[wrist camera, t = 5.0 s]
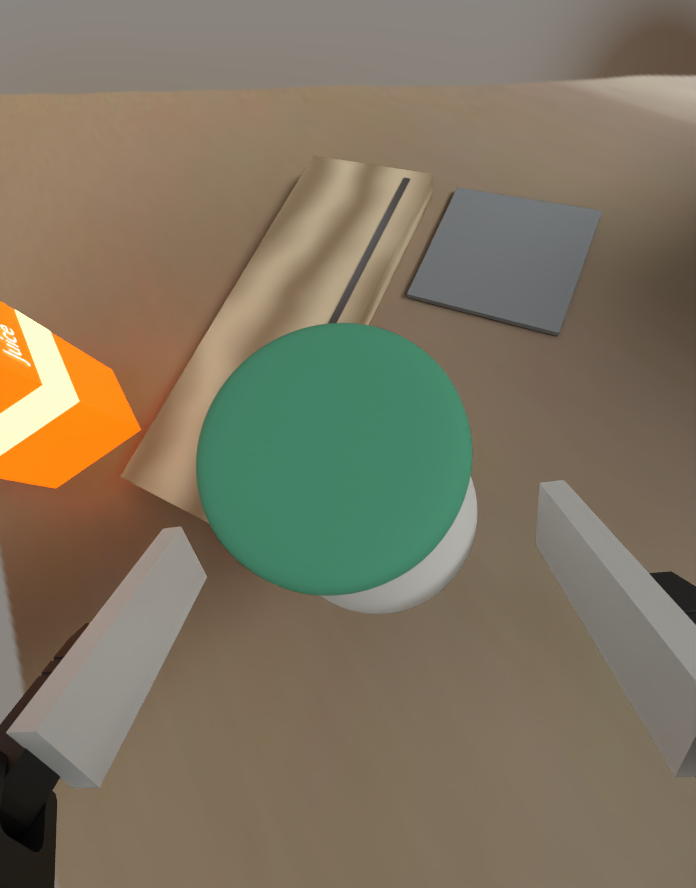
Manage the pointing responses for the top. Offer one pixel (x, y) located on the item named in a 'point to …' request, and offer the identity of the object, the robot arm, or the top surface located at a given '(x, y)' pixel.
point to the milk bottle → (341, 468)
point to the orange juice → (54, 405)
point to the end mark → (506, 259)
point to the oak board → (288, 298)
